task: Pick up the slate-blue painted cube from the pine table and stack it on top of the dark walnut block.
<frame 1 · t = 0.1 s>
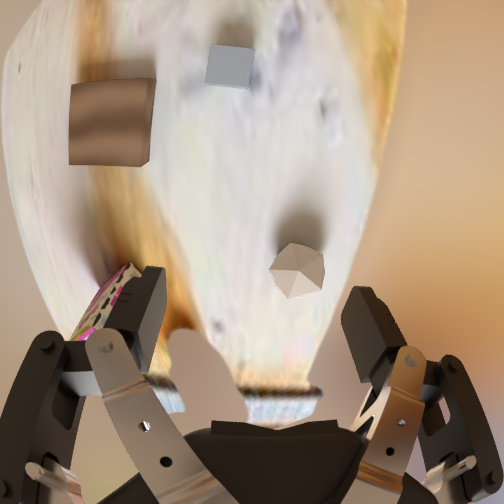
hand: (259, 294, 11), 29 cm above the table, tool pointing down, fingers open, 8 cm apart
die: (294, 257, 45), on the table
slate cube: (231, 70, 30), on the table
candy bar box: (122, 282, 47), on the table
walnut block: (115, 120, 33), on the table
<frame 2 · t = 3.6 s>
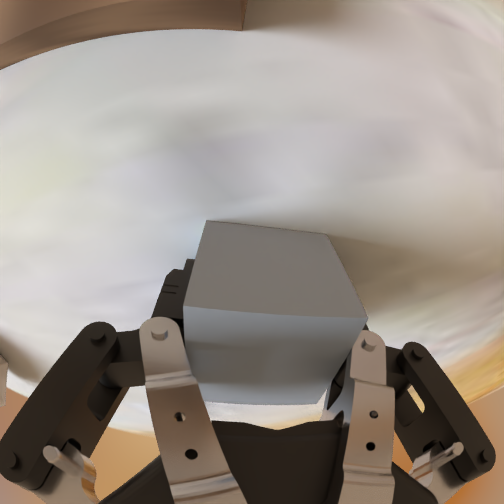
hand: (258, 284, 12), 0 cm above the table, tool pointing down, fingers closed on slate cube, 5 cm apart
slate cube: (259, 277, 12), on the table, touching gripper
when the fingers open (6 cm above the table, at t = 9.8 s): slate cube drops 2 cm, point 4 cm above the table.
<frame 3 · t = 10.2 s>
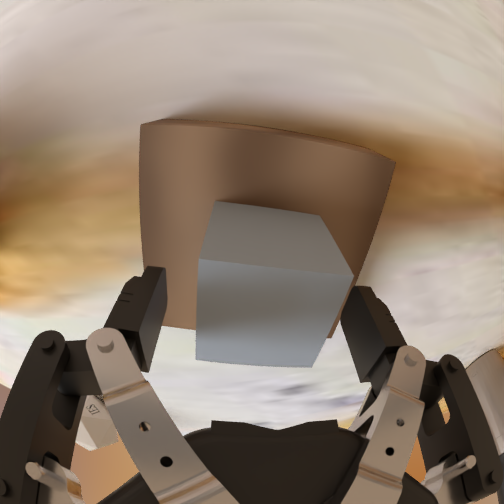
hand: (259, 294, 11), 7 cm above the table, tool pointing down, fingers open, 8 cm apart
die: (96, 401, 31), on the table
slate cube: (260, 253, 14), point 4 cm above the table
walnut block: (254, 221, 17), on the table
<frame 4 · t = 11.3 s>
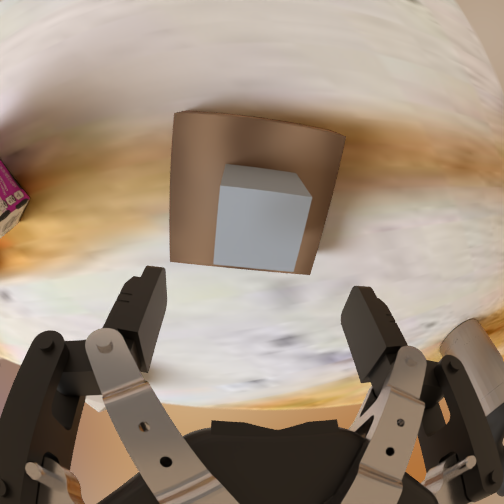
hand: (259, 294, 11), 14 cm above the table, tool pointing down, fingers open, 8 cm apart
die: (107, 364, 37), on the table
slate cube: (256, 200, 20), point 3 cm above the table, touching walnut block
candy bar box: (1, 178, 20), on the table
walnut block: (249, 185, 23), on the table, touching slate cube
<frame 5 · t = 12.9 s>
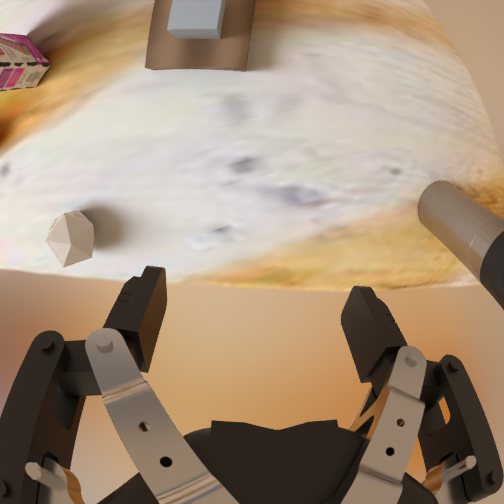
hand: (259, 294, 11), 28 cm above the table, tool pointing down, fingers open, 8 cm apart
die: (82, 226, 39), on the table
slate cube: (201, 20, 22), point 3 cm above the table, touching walnut block
candy bar box: (31, 59, 23), on the table
walnut block: (203, 29, 26), on the table, touching slate cube
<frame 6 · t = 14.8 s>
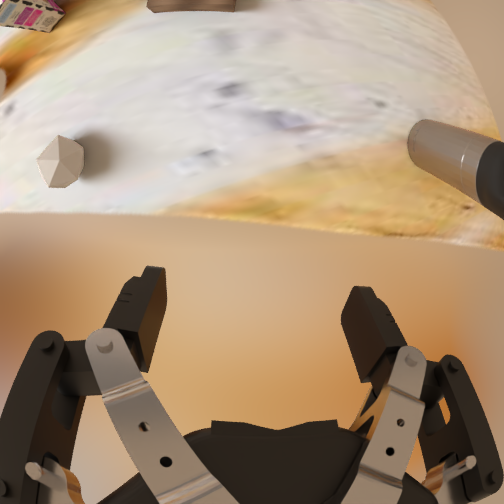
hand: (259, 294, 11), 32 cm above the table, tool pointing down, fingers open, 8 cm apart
die: (73, 156, 37), on the table
candy bar box: (47, 11, 21), on the table
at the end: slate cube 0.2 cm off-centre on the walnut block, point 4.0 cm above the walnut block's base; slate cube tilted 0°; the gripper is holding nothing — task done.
